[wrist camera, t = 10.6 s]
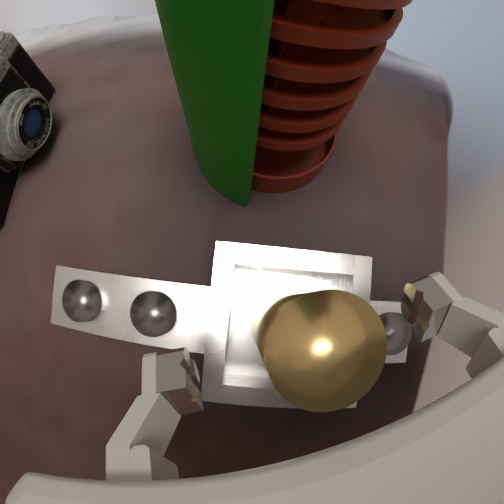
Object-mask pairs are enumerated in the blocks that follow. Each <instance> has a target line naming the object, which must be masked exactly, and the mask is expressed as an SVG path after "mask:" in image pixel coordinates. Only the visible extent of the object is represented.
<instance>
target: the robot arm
mask: <svg viewBox="0 0 504 504" xmlns="http://www.w3.org/2000/svg"><path fill="white" fill-rule="evenodd" d="M404 291H405V293H406V294H405V296H404V297H403V298H402V301H401V312H402V314H403V317H404V318H405V320H406V321H407V322H409V323H411V324H413V328H412V330H413V332H414V333H415V335H416V336H417V338H418V339H419V341H420V342H423V341H425V340H427V339H429V338H432V337H434V336H436V335H437V336H438V337H439V338H441V339H443V340H444V341H446V342H448V343H449V344H451V345H452V346H454V347H456V348H457V349H459V350H460V351H462V352H463V353H465V354H467V355H468V356H470V357H471V358H472V359H471V360H470V362H469V363H468V365H467V367H466V370H467V372H468V373H469V375H470V377H471V378H472V379H471V380H470V381H468V382H466V383H465V384H463V385H462V386H460V387H458V388H457V389H455V390H454V391H452V392H450V393H448V394H447V395H445V396H443V397H442V398H440V399H438V400H437V401H434V402H433V403H431V404H429V405H427V406H425V407H423V408H422V409H419V410H418V411H416V412H414V413H412V414H410V415H408V416H406V417H403V418H401V419H399V420H397V421H395V422H393V423H391V424H388V425H386V426H384V427H382V428H379V429H377V430H375V431H372V432H370V433H368V434H365V435H363V436H360V437H357V438H355V439H352V440H350V441H347V442H344V443H341V444H339V445H336V446H333V447H330V448H327V449H324V450H321V451H318V452H314V453H311V454H308V455H304V456H301V457H298V458H294V459H290V460H286V461H283V462H279V463H274V464H270V465H266V466H261V467H257V468H252V469H247V470H242V471H236V472H230V473H224V474H217V475H210V476H202V477H194V478H183V479H179V473H178V466H177V465H176V464H175V463H173V462H171V461H170V460H168V459H166V458H165V457H163V456H164V454H165V452H166V449H167V447H168V445H169V443H170V440H171V438H172V436H173V434H174V432H175V429H176V427H177V425H178V423H179V420H180V418H181V415H183V414H189V413H194V412H199V411H204V410H203V402H202V394H201V393H200V391H199V390H198V387H199V385H200V378H199V373H198V369H197V366H196V364H195V362H194V360H193V359H191V358H190V355H189V351H188V349H187V348H186V347H183V348H177V349H171V350H165V351H159V352H154V353H148V354H144V356H143V358H142V385H141V395H139V396H137V398H136V399H135V401H134V402H133V404H132V405H131V407H130V408H129V410H128V412H127V413H126V415H125V416H124V418H123V419H122V421H121V423H120V424H119V426H118V427H117V429H116V430H115V432H114V434H113V435H112V437H111V438H110V440H109V442H108V443H107V445H106V480H91V479H79V478H69V477H61V476H53V475H47V474H41V473H36V472H27V473H25V474H24V475H23V476H22V477H21V478H20V479H19V480H18V482H17V483H16V484H15V486H14V487H13V489H12V490H11V491H10V493H9V494H8V496H7V499H6V502H5V504H504V314H503V313H501V312H498V311H496V310H494V309H492V308H490V307H487V306H485V305H483V304H480V303H478V302H476V301H474V300H471V299H469V298H467V297H464V298H462V296H461V295H460V294H459V293H458V292H457V291H456V290H455V288H454V287H453V286H452V285H451V284H450V283H449V282H448V281H447V279H446V278H445V277H444V276H443V275H442V274H441V273H440V272H435V273H433V274H430V275H428V276H424V277H422V278H419V279H417V280H414V281H412V282H409V283H407V284H406V286H405V289H404Z"/></svg>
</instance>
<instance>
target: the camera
mask: <svg viewBox="0 0 504 504" xmlns="http://www.w3.org/2000/svg"><path fill="white" fill-rule="evenodd" d="M55 92H56V91H55V88H54V87H53V86H52V84H51V83H50V82H49V81H48V79H47V78H46V77H45V76H44V74H43V73H42V72H41V71H40V69H39V68H38V67H37V65H36V64H35V63H34V62H33V60H32V59H31V58H30V56H29V55H28V54H27V53H26V51H25V50H24V49H23V47H22V46H21V45H20V43H19V42H18V41H17V39H16V38H15V37H14V35H13V34H12V33H5V32H4V31H1V32H0V231H1V230H2V229H3V228H4V226H5V222H6V218H7V215H8V211H9V207H10V204H11V200H12V197H13V194H14V190H15V187H16V184H17V181H18V178H19V175H20V172H21V169H22V167H23V164H24V161H25V160H27V159H29V158H30V157H32V156H33V155H34V154H35V153H36V152H37V151H38V149H39V148H40V147H41V146H42V145H43V144H44V143H45V142H46V140H47V138H48V136H49V134H50V131H51V127H52V110H51V106H50V104H49V103H50V101H51V99H52V97H53V96H54V94H55Z"/></svg>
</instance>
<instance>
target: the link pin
mask: <svg viewBox="0 0 504 504" xmlns="http://www.w3.org/2000/svg"><path fill="white" fill-rule="evenodd" d="M252 333H253V337H254V340H255V342H256V345H257V347H258V350H259V352H260V355H261V357H262V360H263V362H264V364H265V367H266V369H267V372H268V374H269V377H270V379H271V381H272V383H273V385H274V387H275V389H276V390H277V391H278V392H279V394H280V395H281V396H282V397H283V398H284V399H285V400H286V401H288V402H289V403H291V404H292V405H294V406H296V407H298V408H300V409H303V410H306V411H311V412H332V411H337V410H340V409H343V408H346V407H348V406H350V405H352V404H353V403H355V402H357V401H358V400H360V399H361V398H362V397H363V396H364V395H366V393H367V392H368V391H369V390H370V389H371V388H372V387H373V385H374V384H375V383H376V381H377V379H378V378H379V376H380V374H381V372H382V369H383V366H384V363H385V359H386V354H387V338H386V333H385V329H384V326H383V323H382V321H381V319H380V317H379V315H378V314H377V312H376V311H375V310H374V308H373V307H372V306H371V305H370V304H369V303H368V302H366V301H365V300H364V299H362V298H361V297H359V296H357V295H355V294H353V293H350V292H347V291H343V290H321V291H314V292H308V293H301V294H294V295H287V296H280V297H275V298H272V299H270V300H268V301H266V302H265V303H264V304H262V305H261V306H260V308H259V309H258V310H257V312H256V313H255V316H254V318H253V322H252Z"/></svg>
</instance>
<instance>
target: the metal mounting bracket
mask: <svg viewBox="0 0 504 504" xmlns="http://www.w3.org/2000/svg"><path fill="white" fill-rule="evenodd" d="M371 273H372V257H367V256H358V255H349V254H339V253H330V252H321V251H311V250H302V249H292V248H283V247H273V246H263V245H254V244H244V243H234V242H224V241H216V245H215V254H214V263H213V271H212V280H211V287H210V286H201V285H192V284H184V283H176V282H168V281H160V280H152V279H145V278H137V277H130V276H123V275H116V274H109V273H102V272H95V271H89V270H82V269H76V268H70V267H64V266H57V265H56V272H55V280H54V290H53V300H52V313H51V323H52V324H56V325H60V326H63V327H67V328H71V329H75V330H79V331H83V332H87V333H92V334H96V335H100V336H105V337H109V338H114V339H119V340H124V341H129V342H134V343H139V344H145V345H150V346H156V347H162V348H168V349H177V348H183V347H186V348H187V349H188V351H189V352H195V353H202V354H204V363H203V375H202V388H201V394H202V401H208V402H216V403H225V404H234V405H245V406H258V407H275V408H298V407H296V406H294V405H292V404H291V403H289V402H288V401H286V400H285V399H284V398H283V397H282V396H281V395H280V394H279V392H278V391H277V390H276V389H275V387H274V385H273V383H272V381H271V379H270V377H269V374H268V372H267V369H266V367H265V364H264V362H263V360H262V357H261V355H260V352H259V350H258V347H257V345H256V342H255V340H254V337H253V333H252V322H253V318H254V316H255V313H256V312H257V310H258V309H259V308H260V306H261V305H262V304H264V303H265V302H266V301H268V300H270V299H272V298H275V297H280V296H287V295H294V294H301V293H308V292H314V291H321V290H343V291H347V292H350V293H353V294H355V295H357V296H359V297H361V298H362V299H364V300H365V301H366V302H368V303H369V304H370V305H371V306H372V307H373V308H374V310H375V311H376V312H377V314H378V315H379V317H380V319H381V321H382V323H383V326H384V329H385V333H386V338H387V354H386V359H385V363H404V362H406V356H407V348H408V344H409V342H410V340H411V336H412V326H411V323H409V322H407V321H406V320H405V318H404V317H403V314H402V312H401V302H388V301H371V300H370V291H371ZM356 405H357V402H355V403H353V404H352V405H350V406H348V407H346V408H356Z"/></svg>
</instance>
